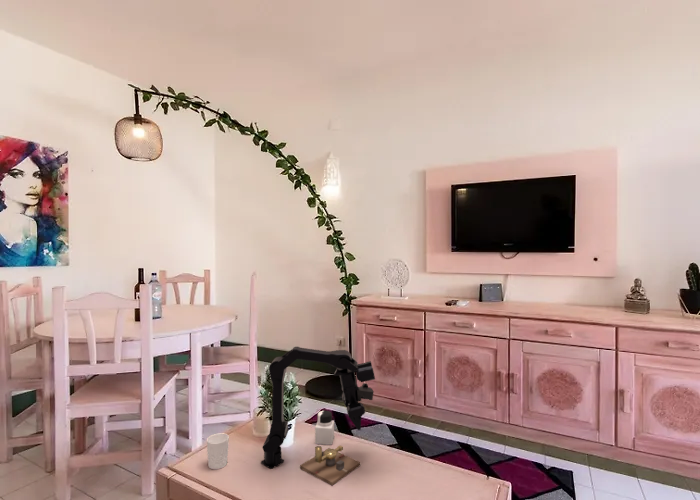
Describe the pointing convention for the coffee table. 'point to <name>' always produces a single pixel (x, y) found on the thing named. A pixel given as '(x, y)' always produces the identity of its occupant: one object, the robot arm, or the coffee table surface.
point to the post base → (330, 468)
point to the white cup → (217, 450)
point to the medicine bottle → (324, 428)
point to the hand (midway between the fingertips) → (357, 424)
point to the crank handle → (326, 453)
